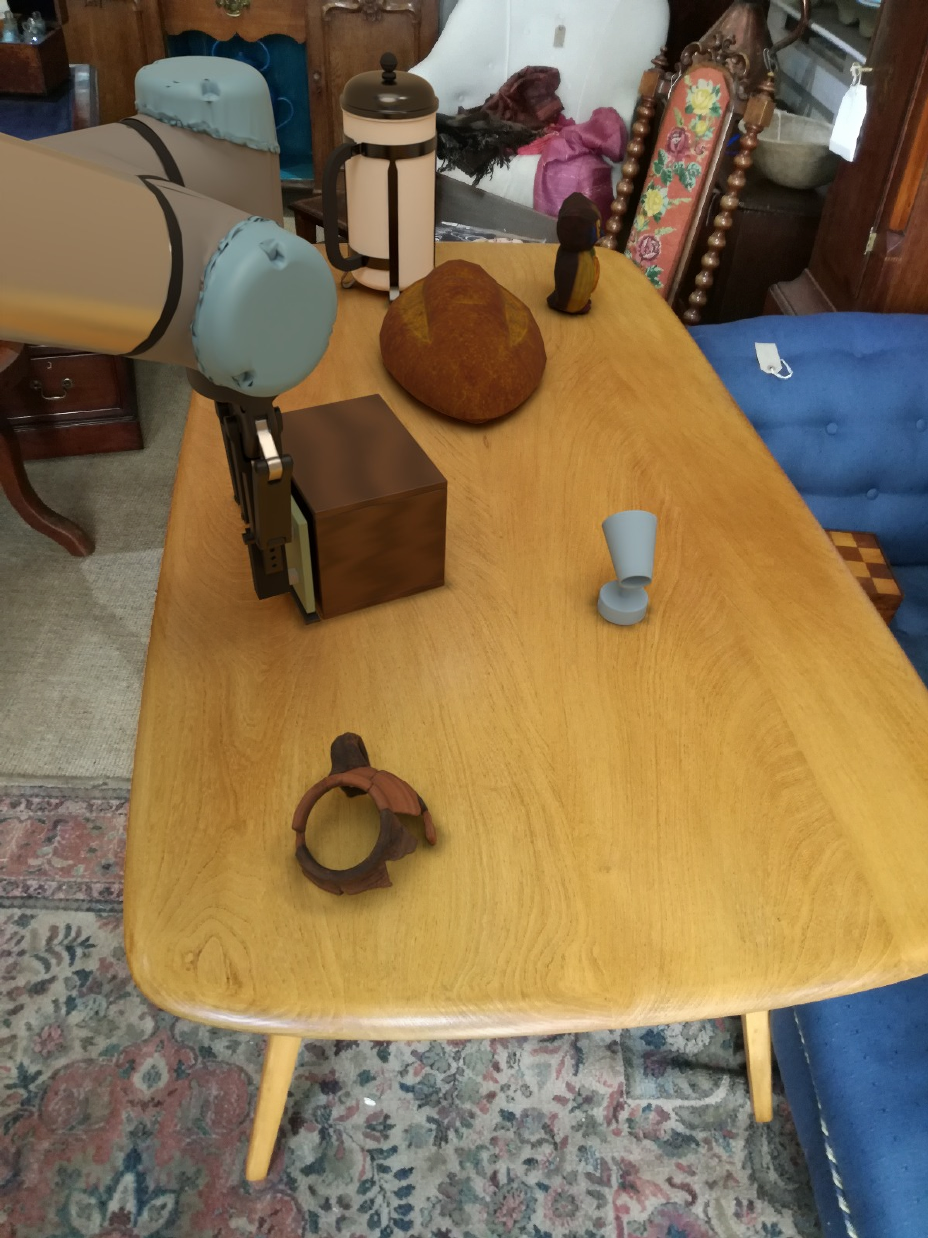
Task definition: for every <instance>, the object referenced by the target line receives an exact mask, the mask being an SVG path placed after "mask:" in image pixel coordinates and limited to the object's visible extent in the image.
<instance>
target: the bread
mask: <svg viewBox="0 0 928 1238" xmlns="http://www.w3.org/2000/svg"><path fill="white" fill-rule="evenodd" d="M435 267H436V268H434V267H433V270H432V271H431V272H430V273H429V274H428V275H427V276H426V277H424V278H422V279H420V280H418V281H416V282H414V283H413V284H411V285H410V286H409V287H407V288H406V289H405V290H403V291H401V293H399V296H398V297H397V298H396V299H395V300H394V301H393V302H392V303H391V305H390V304H389V307H388V309H387V311H386V312H385V315H384V316H383V319H382V324H381V326H380V330H379V334H378V337H379V338H378V339H379V348H380V349H379V351H380V356H381V359H382V361H383V365H384V367H385V368H386V369H387V371H388V373H389V374H390V375H391V376H392V378H393V379H394V380H395V381H396V382H398V384H399V385H400V386H401V387H403V389H404V390H405V391H406V392H408V393H409V394H410V395H411V396H413V397H414V398H415V399H416V400H417V401H420V402H421V403H422V404H424V405H426V406H428V407H430V408H431V409H433V410H435V411H437V412H440V413H442V414H443V415H446V416H448V417H451V418H455V419H458V420H461V421H464V422H467V423H470V424H483V423H486V422H489V421H491V420H494V419H497V418H500V417H503V416H505V415H507V414H509V413H510V412H512V411H514V410H515V409H516V408H517V407H519V406H520V405H521V404H523V403H524V402H525V401H526V400H527V399H528V398H529V397H531V395H532V393H533V392H534V391H535V389H536V388H537V387H538V386H539V385H540V383H541V381H542V378H543V376H544V373H545V371H546V366H547V360H548V356H547V353H546V349H545V342H544V338H543V335H542V331H541V329H540V327H539V324H538V323H537V320H536V319H535V317H534V315H533V313H532V311H531V308H530V307H529V306H528V305H527V304H526V303H524V302H523V301H522V300H521V299H520V298H519V297H517V296H516V295H515V294H514V293H512V292H511V291H510V290H509V289H507V288H506V287H505V286H503V285H502V284H500V283H499V282H498V281H497V280H496V279H495V278H494V277H493V276H491V275H490V274H489V272H488V271H486V270H485V269H484V268H483V267H482V266H481V265H480V264H478V263H475V262H472V261H468V260H464V259H461V258H457V259H449V260H446V261H445V262H443V263H441V264H439V265H438V266H435Z"/></svg>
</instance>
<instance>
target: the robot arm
mask: <svg viewBox="0 0 928 1238" xmlns="http://www.w3.org/2000/svg"><path fill="white" fill-rule="evenodd" d="M134 93H135V94H134V95H135V100H134V102H133V104H134V105H135V111H137V114H135V115H133V116H129V117H125V118H121V119H120V120H119V121H115V122H112V123H106V124H102V125H97V126H93V127H88V128H82V129H78V130H72V131H68V132H64V133H63V132H62V133H58V134H53V135H49V136H43V137H39V138H34V139H29V140H25V139H22V138H19V137H16V136H13V135H9V134H7V133H4V132H1V131H0V341H6V342H7V341H8V342H14V343H20V344H27V345H28V344H29V345H35V346H45V347H52V348H58V349H59V348H60V349H66V350H75V351H80V352H81V351H82V352H83V351H84V352H90V353H95V354H103V355H111V356H112V355H113V356H119V357H125V358H129V359H137V360H143V361H148V362H157V363H164V364H170V365H171V364H172V365H178V366H182V367H184V368H185V373H186V378H187V381H188V384H189V385H190V386H191V388H192V389H193V390H194V391H195V392H196V393H197V394H199V395H200V396H202V397H204V398H206V399H208V400H211V401H213V403H214V410H215V414H216V417H217V418H218V421H219V427H220V431H221V436H222V441H223V444H224V446H223V447H224V450H225V456H226V458H227V465H228V469H229V474H230V480H231V484H232V490H233V500H234V502H235V503H236V505H237V506H238V507H239V506H240V511H241V512H240V517H241V518H240V519H241V521H243V523H244V525H249V526H248V527H245V528H244V532H242V533H241V538H242V541H243V544H244V546H247V550H248V558H249V564H250V571H251V576H252V583H253V591H254V593H255V594H256V597H257V599H258V601H263V600H266V599H271V598H274V597H278V596H281V595H285V594H290V593H289V592H291V591H290V583H289V574H288V566H287V557H286V549H285V544H287V543H291V542H292V522H291V476H292V472H293V465H294V462H293V459H292V458H291V455H290V454H289V453H287V454H283V451H282V442H281V433H282V431H283V420H282V414H281V413H282V411H281V409H280V407H279V406H278V405H276V406H274V405H273V403H274V401H275V400H276V399H277V398H278V397H279V396H281V395H282V394H284V393H287V392H288V391H291V390H292V389H294V388H296V387H297V386H299V385H300V384H301V383H303V382H304V381H305V380H306V379H307V378H308V377H309V376H310V375H311V374H312V373H313V372H314V371H315V369H316V368H317V367H318V366H319V364H320V363H321V361H322V360H323V358H324V356H325V355H326V353H327V350H328V348H329V346H330V337H331V336H332V334H333V333H334V325H335V323H336V321H337V317H338V292H337V285H336V281H335V277H334V275H333V273H332V270H331V267H330V266H329V264H328V262H327V261H326V259H325V257H324V255H322V253H321V252H320V251H319V250H318V249H317V247H315V246H314V245H313V244H312V243H311V242H309V241H308V240H306V239H305V238H304V237H301V236H299V235H297V234H296V233H294V232H291V231H289V230H287V229H285V222H284V221H285V220H284V207H283V206H284V205H283V194H282V182H281V181H282V180H281V169H280V168H281V167H280V166H281V165H280V153H281V147H280V145H279V143H278V136H277V129H276V123H275V116H274V110H273V105H272V104H273V103H272V99H271V94H270V93H271V92H270V89H269V86H268V83H267V81H266V78H265V77H264V76H263V74H262V73H261V72H260V71H259V70H257V69H256V68H255V67H253V66H252V65H250V64H248V63H245V62H243V61H240V60H236V59H233V58H228V57H220V56H211V55H210V56H208V55H186V56H185V55H184V56H175V57H174V56H173V57H169V58H168V57H167V58H163V59H157V60H155V61H154V62H152V63H151V64H147V65H144V66H142V67H141V68H140V69H138V71H137V72H136V75H135V78H134Z"/></svg>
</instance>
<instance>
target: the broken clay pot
mask: <svg viewBox="0 0 928 1238" xmlns="http://www.w3.org/2000/svg"><path fill="white" fill-rule="evenodd" d="M329 753H330V755H329V756H330V762H331V768H330V771H329V773H328V775H327V776H325V777H323V778H322V779H320V780H319V781H318V782H316V783H315V784H314V785H312V786H311V787H310V789H308V790H307V791H306V793H304V795H303V796H302V797H301V799H300V801H299V803H298V804H297V806H296V809H295V811H294V813H293V818H292V822H291V829H292V831H294V832H295V845H294V846H295V854H294V855H295V858H296V860H297V862H298V865H299V866H300V868H301V873H302V874H303V876H304V877H305V878H306V879H307V880H308V881H309V882H310V883H312V884H313V885H314V886H316V887H317V888H319V889H321V890H322V891H324V892H327V893H329V894H332V895H335V896H338V897H340V896H343V895H344V894H346V895H348V896H354V895H359V894H362V893H364V892H366V891H367V892H368V891H370V890H375V889H388V888H392V887H393V882H392V881H391V879H390V875H389V872H388V868H387V862H396V861H399V860H401V859H403V858H405V857H406V856H407V855H411V854H413V853H415V851H416V850H417V847H418V844H419V839H418V837H416V836H414V835H413V834H411V832H410V831H409V829H408V828H407V827H406V826H405V825H404V824H403V823H402V821H401V820H400V819H399V818H398V816H397V815H401V814H402V815H407V816H410V817H418V816H419V815H420V816H421V817H422V819H423V822H424V823H423V824H424V829H425V838H426V839H427V840H428V843H429V844H431V845H432V846H435V845H436V844H437V833H436V829H435V826H434V823H433V817H432V814H431V813H430V811H429V808H428V806H427V804H426V802H425V801H424V799H423V798H422V797H421V796H420V795H419V793H418V791H416V790H415V789H414V788H413V787H412V786H411V785H410V784H409V783H408V782H407V781H405V780H403V779H402V778H401V777H399V776H397V775H396V774H394V773H392V772H390V771H387V770H385V769H380V770H378V769H377V768H376V767H373V766H372V765H371V762H370V761H371V760H370V758H369V754H368V753H369V752H368V750H367V748H366V745H365V742H364V740H363V738H362V736H361V735H359V734H357V733H355V732H349V731H346V732H343V734H340V735H338V736H337V737H335V739H333V741H332V742H331V745H330V752H329ZM336 788H340V789H341V791H342V792H343V793H345V795H346V797H347V798H348V799H354V798H356V797H360V796H365V795H369V797H371V798H372V800H373V802H374V803H375V805H376V808H377V810H378V813H379V817H380V829H379V834H378V837H377V840H376V843H375V844H374V847H373V849H372V850H371V852H370V853H369V855H368V856H367V857H366V858H365V859H364V860H362V861H361V862H359V863H357V864H356V865H354V866H352V867H349V868H346V869H331V868H328V867H326V866H324V865H322V864H320V863H319V862H318V861H317V859H316V858H314V856H313V855H312V853H311V852H310V850H309V848H308V847H307V842H306V830H307V824H308V820H309V817H310V815H311V812H312V810H313V809H314V807H315V805H316V804H317V803H318V801H319V800H320V799H321V798H322V797H323V796H324V795H325V794H327V793H329V792H331V790H333V789H336Z"/></svg>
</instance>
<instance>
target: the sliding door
mask: <svg viewBox="0 0 928 1238" xmlns="http://www.w3.org/2000/svg"><path fill="white" fill-rule="evenodd" d="M291 522H292V542H291V543H287V544H285V549H286V557H287V566H288V574H289V583H290V585H293V587H294V589H295V591H296V593H297V595H298V597H299V598H300V600H301V602H302V604H303V606H304V608H305V610H306V612H307V613H311V612H315V609H316V604H315V601H314V590H313V579H312V569H311V558H310V547H309V537H308V526H307V521H306V520H305V518H304V516H303V514H302V513H301V511H300V509H299V507H298V506H297V504H296V502H295V501H294V499H293V497H292V495H291Z"/></svg>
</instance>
